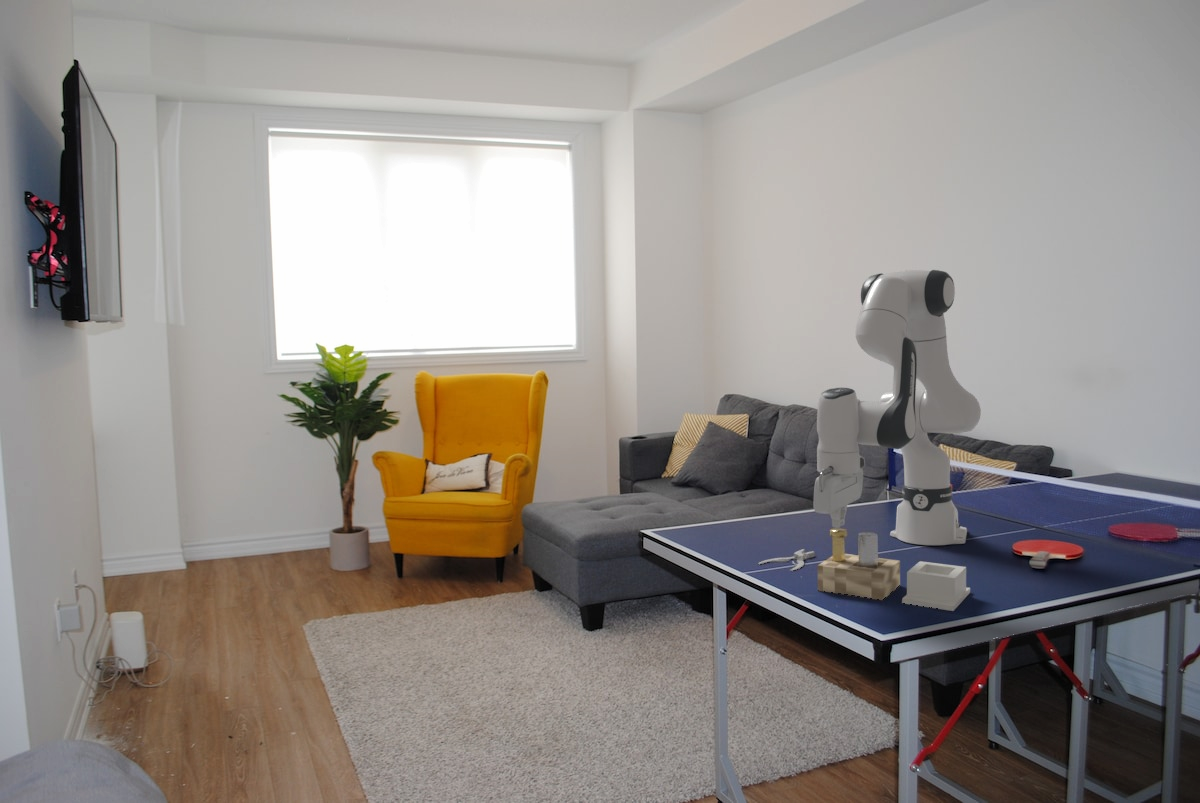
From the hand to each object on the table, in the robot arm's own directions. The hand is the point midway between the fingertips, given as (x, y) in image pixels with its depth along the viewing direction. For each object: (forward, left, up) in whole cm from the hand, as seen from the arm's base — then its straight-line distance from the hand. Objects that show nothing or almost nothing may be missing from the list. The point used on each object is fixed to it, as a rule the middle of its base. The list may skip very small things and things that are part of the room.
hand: (838, 526), depth 197 cm
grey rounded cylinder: (0, +7, -13) cm, 15 cm away
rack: (-1, +21, -13) cm, 24 cm away
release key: (0, 0, -9) cm, 9 cm away
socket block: (0, +5, -13) cm, 14 cm away
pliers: (-13, -16, -14) cm, 25 cm away
